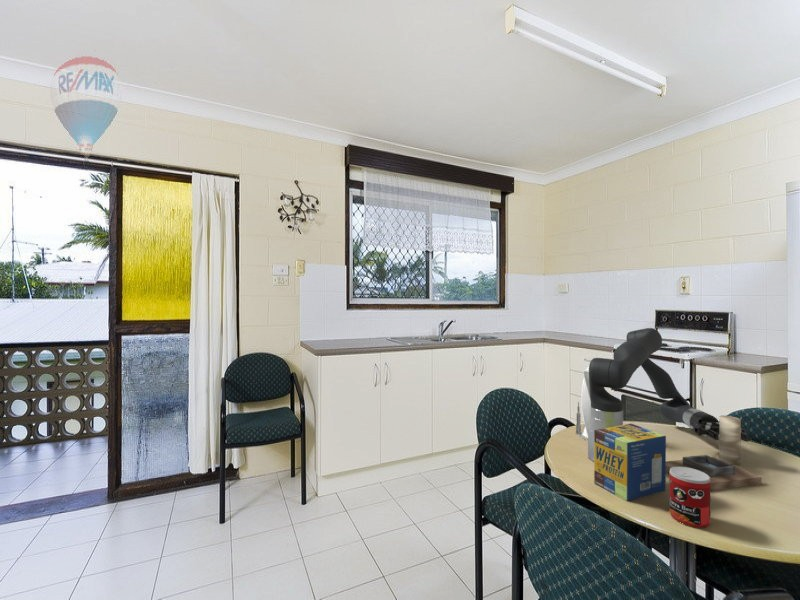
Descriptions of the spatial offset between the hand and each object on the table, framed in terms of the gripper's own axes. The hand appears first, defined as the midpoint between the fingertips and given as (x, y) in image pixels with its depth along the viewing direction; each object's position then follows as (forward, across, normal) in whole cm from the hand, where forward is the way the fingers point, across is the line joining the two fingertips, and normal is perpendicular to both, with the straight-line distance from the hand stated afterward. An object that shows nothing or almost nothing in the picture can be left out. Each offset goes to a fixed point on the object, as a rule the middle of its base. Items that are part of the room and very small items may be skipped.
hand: (732, 437), depth 121 cm
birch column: (-1, 0, +8) cm, 8 cm away
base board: (+11, -14, +8) cm, 19 cm away
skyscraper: (-18, -37, +8) cm, 42 cm away
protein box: (+22, -40, +8) cm, 46 cm away
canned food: (+36, -32, +8) cm, 49 cm away
